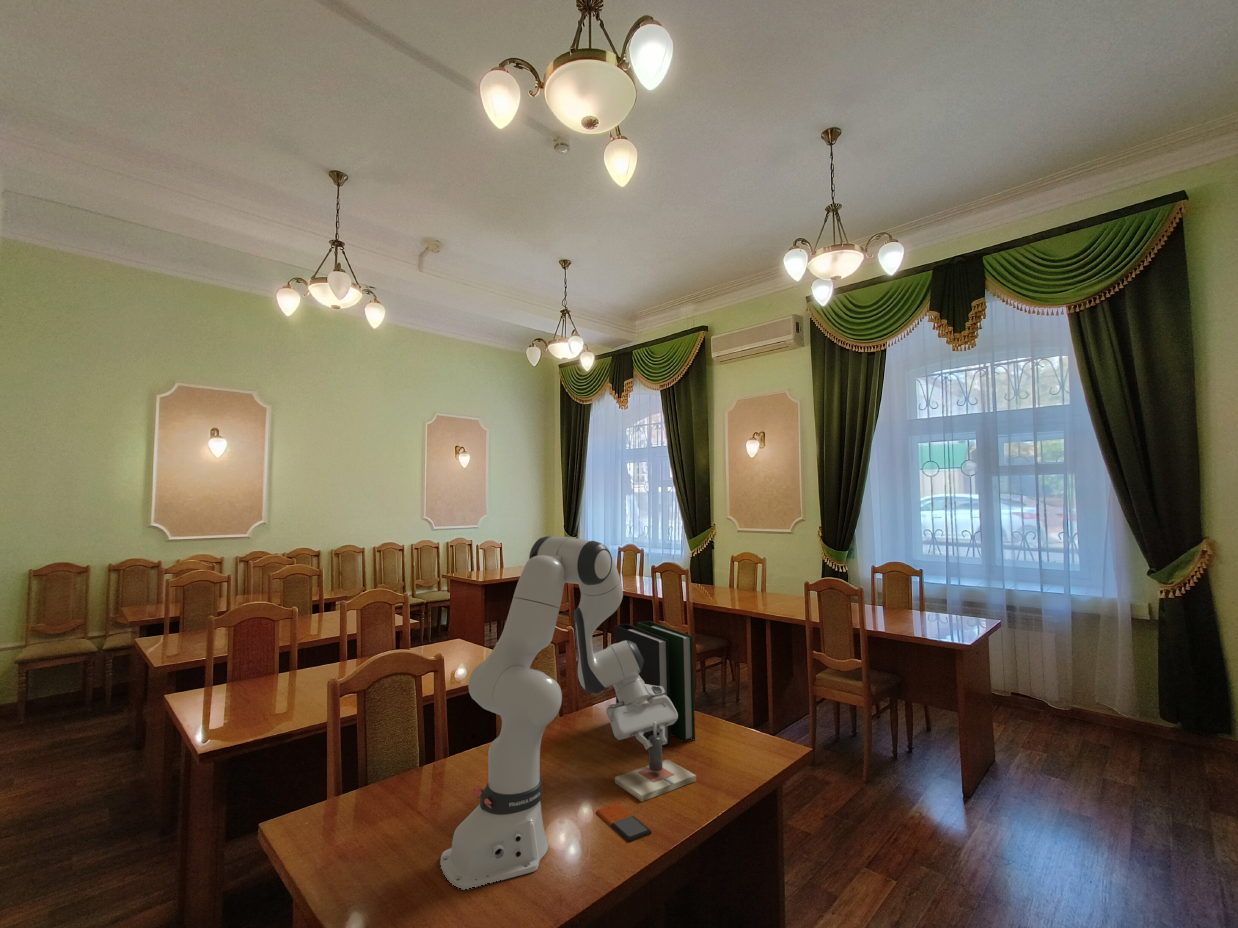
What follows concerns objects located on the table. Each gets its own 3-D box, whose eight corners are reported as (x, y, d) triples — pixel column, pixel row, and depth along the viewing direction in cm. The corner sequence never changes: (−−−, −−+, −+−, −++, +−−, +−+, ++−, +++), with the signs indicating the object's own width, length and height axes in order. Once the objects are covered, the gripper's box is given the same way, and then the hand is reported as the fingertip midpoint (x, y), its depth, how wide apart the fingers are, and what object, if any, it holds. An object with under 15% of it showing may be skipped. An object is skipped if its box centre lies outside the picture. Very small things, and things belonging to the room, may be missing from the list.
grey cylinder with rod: (654, 772, 154) (653, 725, 155) (646, 767, 157) (645, 721, 158) (665, 768, 156) (664, 722, 157) (656, 763, 159) (655, 718, 160)
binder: (697, 740, 181) (694, 635, 183) (656, 750, 174) (654, 641, 176) (651, 712, 205) (649, 620, 207) (614, 721, 198) (612, 625, 200)
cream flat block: (641, 801, 145) (641, 794, 145) (614, 782, 155) (614, 776, 155) (696, 780, 155) (695, 774, 155) (667, 764, 165) (667, 758, 165)
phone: (618, 801, 144) (652, 829, 131) (618, 806, 144) (653, 835, 131) (595, 809, 140) (628, 839, 128) (595, 814, 140) (628, 845, 127)
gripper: (608, 700, 157) (629, 749, 149) (667, 685, 169) (690, 730, 160) (599, 712, 161) (620, 761, 152) (658, 697, 172) (680, 742, 164)
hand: (656, 745), depth 156 cm, fingers closed on grey cylinder with rod, 3 cm apart
